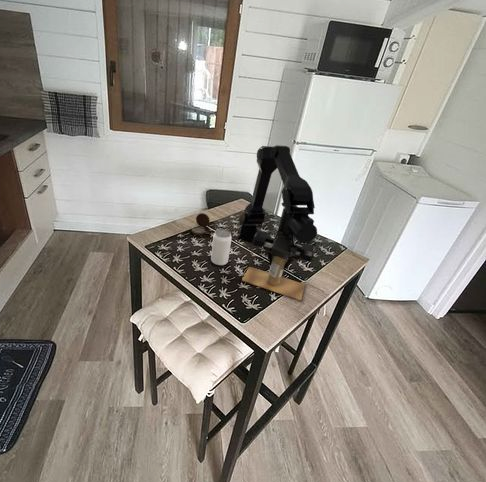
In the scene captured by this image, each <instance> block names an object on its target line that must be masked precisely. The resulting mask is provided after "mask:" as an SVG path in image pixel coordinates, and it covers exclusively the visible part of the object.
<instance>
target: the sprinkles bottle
mask: <svg viewBox="0 0 486 482" xmlns="http://www.w3.org/2000/svg"><path fill="white" fill-rule="evenodd" d="M287 259H288V258H287ZM287 259H282V258H280V257H277V256H273V260H272V263H271V265H269V266H270V267H269V270H268V273H269V274H268V277H267V281H268V282H269V283H270V284H272V285H278V284H279V283H280V279H281V277H283V273H284V271H285V270H284V266H285V264H286V261H287Z"/></svg>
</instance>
